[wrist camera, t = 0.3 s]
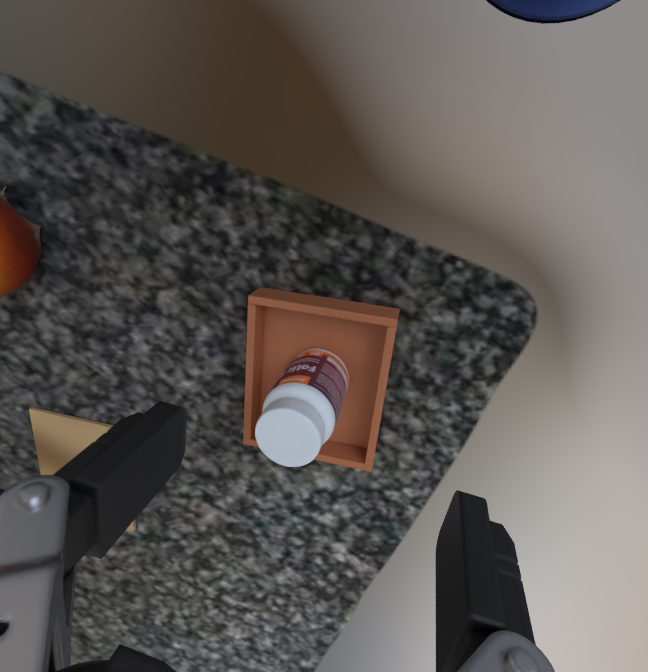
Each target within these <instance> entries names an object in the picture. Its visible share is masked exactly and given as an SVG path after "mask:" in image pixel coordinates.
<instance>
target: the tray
mask: <svg viewBox="0 0 648 672" xmlns="http://www.w3.org/2000/svg"><path fill="white" fill-rule="evenodd" d="M399 311H400V309H397V308H391V307H385V306H378V305H372V304H366V303H359V302H353V301H347V300H340V299H334V298H328V297H321V296H315V295H308V294H302V293H296V292H289V291H283V290H277V289H270V288H264V287H259V288H258V289H257V290H255V291H254V292H253V293H251V294H250V295H248V317H247V346H246V375H245V405H244V434H243V437H244V438H243V444H246V445H251V446H255V447H259V446H258V444H257V441H256V437H255V427H256V424H257V421H258V419H259V418H260V416H261V415H262V410H263V404H264V401H265V399H266V397H267V395H268V393H269V392H270V391H271V389H272V388H273V387H274V385H275V384H276V383H277V381H278V380H279V378H280V377H281V375H282V374H283V373H284V371H285V369H286V368H287V367H288V365H289V364H290V363H291V361H292V360H293V359H294V358H295V356H296V355H298V354H299V353H301V352H302V351H305V350H308V349H314V348H318V349H324V350H327V351H330V352H332V353H334V354H335V355H336V356H338V357H339V358H340V359H341V360H342V362H343V363H344V365H345V366H346V368H347V371H348V374H349V386H348V390H347V393H346V396H345V398H344V401H343V404H342V407H341V410H340V413H339V415H338V418H337V422H336V425H335V427H334V430H333V432H332V434H331V436H330V438H329V439H328V440H327V441H326V442H325V443H324V444H323V445H322V446H321V448H320V451H319V453H318V455H317V456H316V457H315V458H314V460H319V461H324V462H328V463H333V464H337V465H342V466H346V467H351V468H356V469H360V470H365V471H369V472H372V467H373V461H374V455H375V450H376V444H377V438H378V432H379V427H380V421H381V415H382V409H383V403H384V398H385V392H386V386H387V380H388V375H389V369H390V363H391V357H392V352H393V346H394V340H395V334H396V329H397V323H398V317H399Z"/></svg>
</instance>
